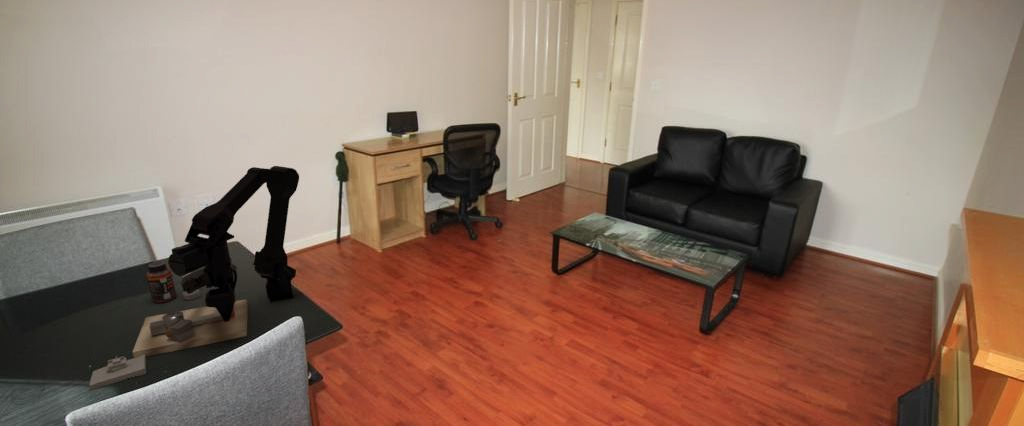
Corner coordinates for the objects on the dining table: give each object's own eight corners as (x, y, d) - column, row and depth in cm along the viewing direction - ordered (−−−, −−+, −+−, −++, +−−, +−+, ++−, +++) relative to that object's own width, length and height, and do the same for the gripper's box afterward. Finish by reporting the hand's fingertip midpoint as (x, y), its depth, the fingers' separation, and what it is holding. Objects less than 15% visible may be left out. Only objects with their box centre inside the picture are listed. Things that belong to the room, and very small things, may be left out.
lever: (151, 337, 122) (144, 313, 120) (152, 328, 126) (146, 304, 123) (235, 318, 131) (231, 295, 129) (234, 310, 135) (230, 288, 132)
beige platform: (143, 351, 122) (139, 338, 120) (158, 370, 115) (155, 356, 114) (81, 374, 113) (77, 361, 112) (94, 396, 106) (89, 382, 105)
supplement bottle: (175, 301, 144) (167, 266, 140) (151, 305, 141) (141, 269, 137) (178, 292, 149) (170, 258, 145) (154, 296, 146) (145, 261, 142)
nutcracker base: (247, 305, 142) (244, 286, 140) (246, 336, 128) (242, 316, 126) (147, 323, 132) (142, 304, 130) (134, 359, 118) (127, 338, 116)
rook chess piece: (192, 301, 144) (186, 277, 141) (179, 299, 144) (173, 275, 142) (204, 294, 148) (199, 270, 145) (191, 292, 149) (186, 268, 146)
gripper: (184, 250, 130) (196, 302, 135) (174, 281, 114) (188, 338, 120) (232, 244, 135) (241, 294, 140) (229, 272, 119) (239, 328, 124)
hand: (227, 312), depth 131 cm, fingers open, 9 cm apart
